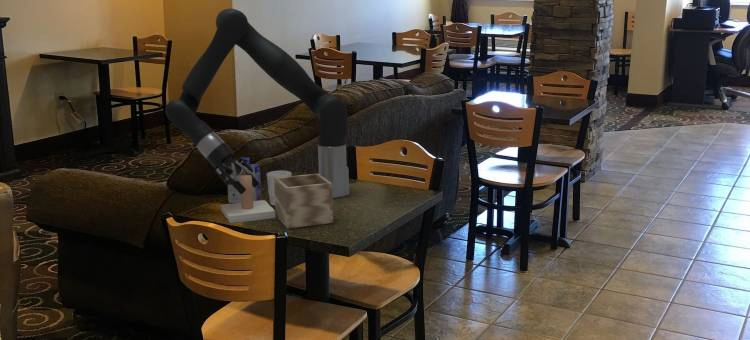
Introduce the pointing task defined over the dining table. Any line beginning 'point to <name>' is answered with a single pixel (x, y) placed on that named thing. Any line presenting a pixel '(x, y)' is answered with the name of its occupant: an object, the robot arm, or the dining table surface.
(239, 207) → the lid
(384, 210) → the dining table surface
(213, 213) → the dining table surface
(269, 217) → the plate
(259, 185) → the ink cartridge box
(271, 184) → the white cup
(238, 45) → the robot arm
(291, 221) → the box
